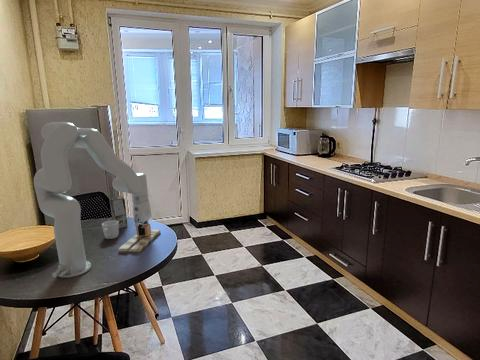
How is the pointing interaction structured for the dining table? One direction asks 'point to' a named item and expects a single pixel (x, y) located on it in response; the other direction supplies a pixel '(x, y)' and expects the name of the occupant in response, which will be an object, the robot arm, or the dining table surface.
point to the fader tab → (147, 230)
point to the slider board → (138, 243)
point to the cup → (110, 229)
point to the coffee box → (118, 210)
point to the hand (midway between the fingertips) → (143, 233)
